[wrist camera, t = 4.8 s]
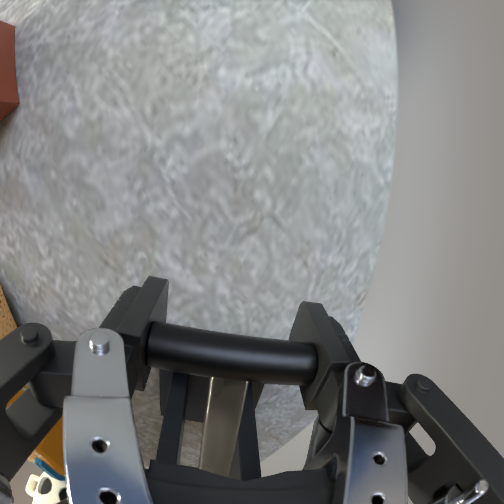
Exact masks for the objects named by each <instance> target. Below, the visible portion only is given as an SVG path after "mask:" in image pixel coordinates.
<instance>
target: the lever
mask: <svg viewBox="0 0 504 504" xmlns="http://www.w3.org/2000/svg"><path fill="white" fill-rule="evenodd" d="M145 358H146V364H147V366H149V367H153V368H158V369H163V370H168V371H173V372H178V373H184V374H189V375H196V376H202V377H209V378H210V380H209V387H208V395H207V402H206V409H205V417H204V425H203V433H202V440H201V449H200V457H199V465H198V469H201V470H204V471H208V472H211V473H214V474H217V475H221V476H224V477H229V473H230V468H231V464H232V459H233V454H234V450H235V445H236V440H237V435H238V431H239V426H240V421H241V416H242V411H243V406H244V401H245V396H246V391H247V386H248V382H252V383H264V384H279V385H305V386H306V385H309V384H311V383H312V381H313V380H314V377H315V375H316V371H317V365H318V355H317V350H316V347H315V345H314V344H313V343H310V342H299V341H288V340H278V339H268V338H259V337H251V336H243V335H236V334H228V333H222V332H215V331H209V330H202V329H196V328H191V327H185V326H180V325H174V324H169V323H164V322H159V321H154V322H153V323H152V325H151V327H150V330H149V333H148V337H147V343H146V352H145Z"/></svg>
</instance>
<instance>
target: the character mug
mask: <svg viewBox="0 0 504 504" xmlns="http://www.w3.org/2000/svg"><path fill="white" fill-rule="evenodd" d="M36 483H38V485H37V488H36V491H34V488H35V485H36ZM26 492H27V493H28V494H29V495H30V496H32V497H34V500H33V503H32V504H56V503H58V502H60V501H62V500H64V499H66V498H67V491H66V483H65V481H59V480H57V479H54V478H52V477H51V476H49V475H48V474H47V473H46V472H44V473H43V474H42V475H41V477H38V476H36V475H33V474H32V475H31V476H30V478H29V481H28V483H27V486H26Z"/></svg>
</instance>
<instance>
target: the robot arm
mask: <svg viewBox="0 0 504 504" xmlns="http://www.w3.org/2000/svg"><path fill="white" fill-rule="evenodd" d="M168 287H169V281H168V279H163V278H158V277H153V276H149V277H148V278H147V280H146V281H145V283H144V284H143V286H142V287H137V286H133V287H131V288H129V289H127V290H126V291H124V292H123V294H122V295H121V296H120V298H119V301H117V302H116V304H115V305H114V307H113V308H112V309H111V311H110V312H109V314H108V315H107V317H106V318H105V320H104V321H103V323H102V324H101V326H100V327H99V328H93V329H89V330H87V331H85V332H83V333H82V334H81V335H80V336H79V337H78V339H77V341H58V340H52V336H51V332H50V330H49V329H48V328H47V327H46V326H44V325H42V324H38V323H27V324H24V325H21V326H19V327H18V328H16V329H15V330H13V331H12V332H11V333H9V334H8V335H7V336H5V337H4V338H3V339H1V340H0V504H13V503H14V498H13V496H12V490H11V486H10V484H9V482H10V481H11V479H12V478H13V477H14V475H15V474H16V472H18V470H19V469H20V468H21V466H22V465H23V464H24V462H25V461H26V460H27V459H28V457H29V456H30V455H31V454H32V452H33V451H34V450H35V449H36V447H37V446H38V445H39V444H40V443H41V441H42V440H43V439H44V438H45V436H46V435H47V434H48V433H49V432H50V430H51V429H52V428H53V427H54V425H55V424H56V423H57V422H58V421H59V420H60V418H61V417H62V416H63V460H64V473H65V483H66V491H67V498H66V499H64V500H62V501H60V502H58V503H56V504H408V496H409V498H410V499H411V501H412V502H413V503H414V504H504V458H503V457H502V456H501V455H500V454H499V453H498V451H497V450H496V449H495V448H494V447H493V446H492V445H491V443H490V442H489V441H488V440H487V439H486V438H485V437H484V436H483V435H482V434H481V432H480V431H479V430H478V429H477V428H476V427H475V426H474V425H473V424H472V422H471V421H470V420H469V419H468V418H467V417H466V416H465V415H464V414H463V413H462V412H461V411H460V410H459V409H458V407H457V406H456V405H455V404H454V403H453V402H452V401H451V400H450V399H449V398H448V397H447V396H446V395H445V394H444V393H443V392H442V391H441V390H440V389H439V388H438V387H437V385H436V384H435V383H434V382H433V381H431V380H430V379H429V378H427V377H425V376H423V375H420V374H411V375H409V376H408V377H407V378H406V380H405V381H404V383H403V384H397V383H392V382H386V381H385V379H384V376H383V374H382V373H381V372H380V371H379V370H378V369H377V368H375V367H374V366H372V365H370V364H368V363H364V362H361V361H360V359H359V357H358V355H357V353H356V351H355V350H354V348H353V346H352V344H351V342H350V341H349V339H348V337H347V335H346V334H345V332H344V330H343V328H342V326H341V325H340V324H339V323H338V322H337V321H336V320H335V319H334V318H333V317H329V316H328V314H327V313H326V311H325V309H324V307H323V305H322V304H321V303H314V302H306V301H303V302H302V303H301V304H300V306H299V309H298V312H297V315H296V318H295V321H294V324H293V327H292V330H291V333H290V337H289V341H299V342H310V343H313V344H314V345H315V347H316V350H317V355H318V365H317V371H316V375H315V377H314V380H313V381H312V383H311V384H309V385H306V386H305V385H299V387H300V391H301V394H302V398H303V402H304V406H305V410H317V411H318V414H319V415H318V416H317V418H316V420H315V422H314V426H313V431H312V436H311V441H310V445H309V450H308V454H307V459H306V463H305V465H304V468H303V470H302V471H287V472H283V473H279V474H275V475H271V476H267V477H262V478H257V479H252V480H247V481H240V480H235V479H232V478H228V477H224V476H221V475H217V474H214V473H211V472H208V471H204V470H201V469H198V468H195V467H188V466H182V465H176V464H170V463H165V462H160V461H155V460H150V465H149V469H145V467H144V463H143V459H142V455H141V451H140V446H139V442H138V437H137V432H136V427H135V422H134V416H133V410H132V404H131V399H132V396H133V393H134V390H139V391H144V389H145V386H146V383H147V380H148V376H149V373H150V370H151V367H149V366H147V364H146V358H145V352H146V343H147V337H148V333H149V330H150V327H151V325H152V323H153V322H154V321H159V322H164V323H166V316H167V300H168ZM26 384H28V386H29V388H27V389H26V390H25V391H24V392H23V393H22V394H21V395H20V396H19V397H18V398H17V399H16V400H15V401H14V402H13V403H12V404H11V405H10V406H9V407H8V408H7V409H6V406H7V404H8V402H9V401H10V400H11V399H12V398H13V397H14V396H15V395H16V394H17V393H18V392H19V391H20V390H21V389H22V388H23V387H24V386H25V385H26ZM417 422H418V423H419V424H420V425H421V426H422V427H423V429H424V430H425V431H426V432H427V433H428V435H429V436H430V437H431V438H432V440H433V441H434V442H435V445H436V450H435V452H434V454H433V455H432V456H428V455H427V454H426V453H425V452H424V450H423V449H422V448H421V447H420V445H419V444H418V443H417V442H416V440H415V439H414V438H413V437H412V435H411V434H410V433H409V431H410V430H411V429H412V427H413V426H414V425H415V424H416V423H417Z"/></svg>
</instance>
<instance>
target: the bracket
mask: <svg viewBox="0 0 504 504" xmlns="http://www.w3.org/2000/svg"><path fill="white" fill-rule="evenodd" d="M159 375H160V410H161V416H164V418H163V423H162V428H161V433H160V438H159V444H158V449H157V455H156V461H160V462H165V463H170V464H176V465H180V456H181V447H182V438H183V430H184V422H185V420H189V421H196V422H203V423H204V417H205V409H206V402H207V395H208V387H209V380H210V378H209V377H202V376H196V375H189V374H184V373H178V372H173V371H168V370H163V369H159ZM263 387H264V383H252V382H248V386H247V391H246V396H245V401H244V406H243V411H242V416H241V421H240V426H239V431H238V435H237V440H236V445H235V450H234V454H233V459H232V464H231V468H230V473H229V477H228V478H232V479H235V480H240V481H247V480H252V479H257V478H261V469H260V459H259V449H258V439H257V429H256V419H255V408H256V405H257V403H258V400H259V397H260V395H261V392H262V389H263Z"/></svg>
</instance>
